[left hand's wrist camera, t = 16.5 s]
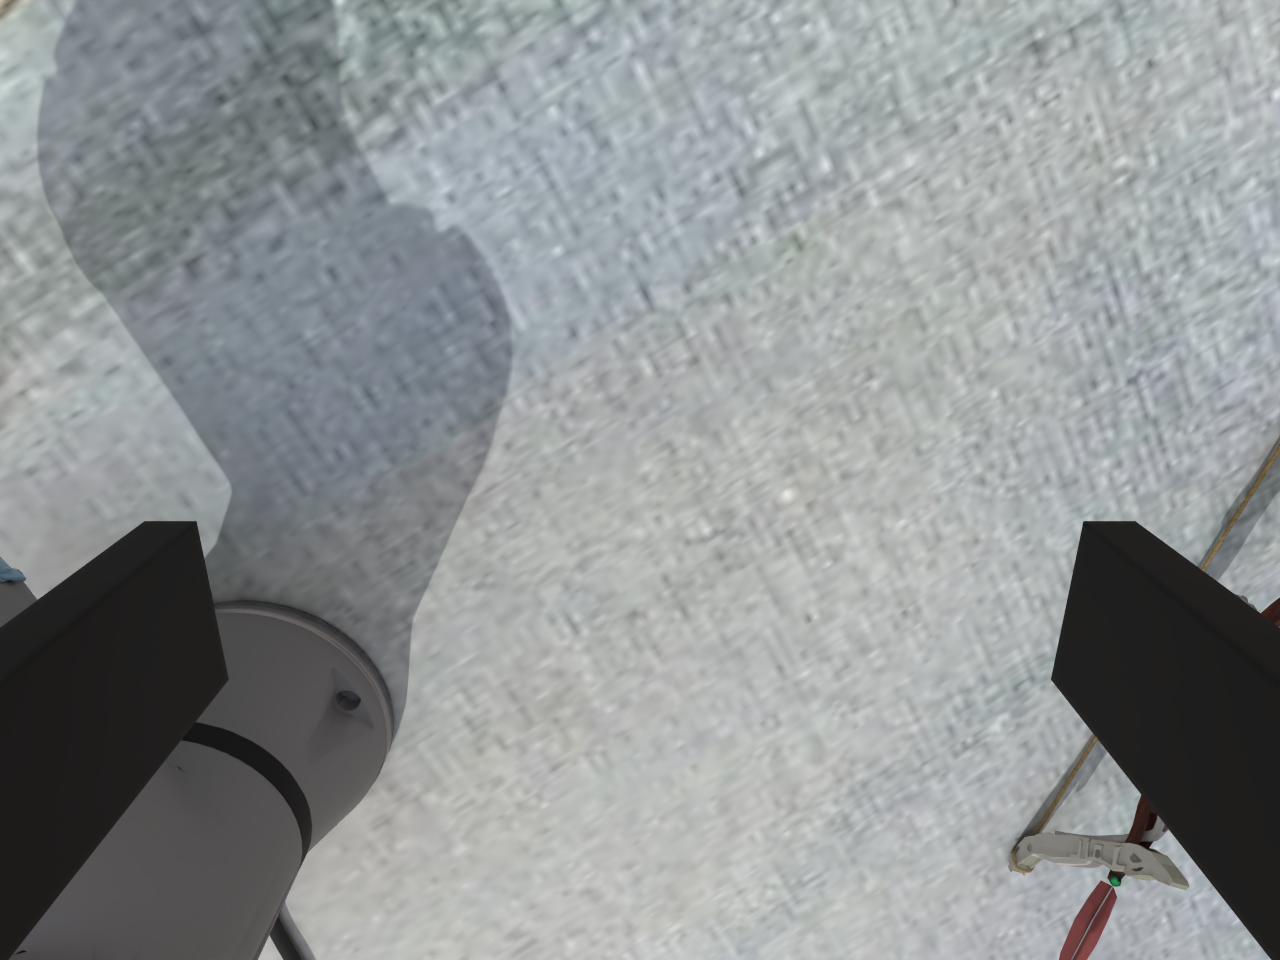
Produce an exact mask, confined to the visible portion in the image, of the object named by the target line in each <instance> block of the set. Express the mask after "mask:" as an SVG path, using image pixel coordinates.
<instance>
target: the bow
mask: <svg viewBox="0 0 1280 960" xmlns="http://www.w3.org/2000/svg"><path fill="white" fill-rule="evenodd" d="M1279 452H1280V444H1279V446H1278V447H1277V449H1276V450H1275V452H1274V454H1273V455H1272V457H1271V458H1270V460H1269V461H1268V463H1267V465H1266V466H1265V468H1264V469H1263V471H1262V473H1261V474H1260V476H1259V477H1258V479H1257V480H1256V482H1255V484H1254V485H1253V487H1252V488H1251V490H1250V492H1249V493H1248V495H1247V496H1246V498H1245V499H1244V501H1243V503H1242V504H1241V506H1240V507H1239V509H1238V511H1237V512H1236V514H1235V515H1234V517H1233V518H1232V520H1231V522H1230V523H1229V525H1228V526H1227V528H1226V530H1225V531H1224V533H1223V534H1222V536H1221V537H1220V539H1219V541H1218V542H1217V544H1216V545H1215V547H1214V549H1213V550H1212V552H1211V553H1210V555H1209V556H1208V558H1207V560H1206V561H1205V563H1204V564H1203V566H1202V568H1201V570H1202V571H1205V569H1206V568H1207V566H1208V564H1209V563H1210V561H1211V560H1212V558H1213V557H1214V555H1215V553H1216V552H1217V550H1218V549H1219V547H1220V546H1221V544H1222V542H1223V541H1224V539H1225V538H1226V536H1227V535H1228V533H1229V531H1230V530H1231V528H1232V527H1233V525H1234V523H1235V522H1236V520H1237V519H1238V517H1239V516H1240V514H1241V512H1242V511H1243V509H1244V508H1245V506H1246V505H1247V503H1248V501H1249V500H1250V498H1251V497H1252V495H1253V493H1254V492H1255V490H1256V489H1257V487H1258V486H1259V484H1260V482H1261V481H1262V479H1263V478H1264V476H1265V475H1266V473H1267V471H1268V470H1269V468H1270V467H1271V465H1272V464H1273V462H1274V460H1275V459H1276V457H1277V456H1278V454H1279ZM1235 595H1236V594H1235ZM1236 596H1238V597H1239V598H1240V599H1242V600H1243V601H1244V602H1246V603H1247V604H1248V605H1250V606H1251V607H1252V608H1254V609H1255V610H1257V609H1256V608H1255V607H1254V605H1252V604H1249V603H1248V599H1247V598H1246V597H1245V596H1243V595H1242V596H1239V595H1236ZM1261 614H1262V615H1263V616H1265V617H1266V618H1267V619H1269V620H1270V621H1271V622H1273V623H1274V624H1276V625H1277V626H1278V627H1280V598H1279V599H1277V600H1276V601H1275V602H1273V603H1272V604H1271V605H1270V606H1269V607H1267V608H1266V609H1265V610H1264V611H1263V612H1262V613H1261ZM1097 740H1098V739H1097V737H1096V736H1095V737H1094V739H1093V740H1092V742H1091V743H1090V745H1089V747H1088V748H1087V750H1086V751H1085V753H1084V755H1083V756H1082V758H1081V759H1080V761H1079V762H1078V764H1077V766H1076V767H1075V769H1074V770H1073V772H1072V774H1071V775H1070V777H1069V778H1068V780H1067V781H1066V783H1065V785H1064V786H1063V788H1062V789H1061V791H1060V793H1059V794H1058V796H1057V797H1056V799H1055V800H1054V802H1053V804H1052V805H1051V807H1050V808H1049V810H1048V812H1047V813H1046V815H1045V816H1044V818H1043V819H1042V821H1041V823H1040V824H1039V826H1038V827H1037V829H1036V831H1035V832H1034V834H1033V835H1032V836H1028V837H1024V839H1023V840H1022V841H1021V842H1020V843H1019V844H1018V845H1017V847H1016V849H1015V850H1014V851H1013V853H1012V857H1011V858H1010V860H1009V861H1010V864H1009V866H1008V867H1009V869H1010V871H1011V872H1012V871H1016V872H1020V873H1023V875H1024V876H1025V874H1026V873H1027V872H1028V873H1029V872H1031V871H1032V870H1033V869H1034V867H1035V866H1036V865H1037V864H1038V863H1040V862H1041V861H1043V860H1044V859H1046V860H1048V861H1051V862H1054V863H1057V864H1060V865H1064V866H1074V867H1090V868H1091V867H1099V866H1100V865H1102V864H1104V865H1105V866H1106V867H1108V868H1109V869H1110V872H1109V875H1108V877H1107V878H1108V879H1109V881H1110V883H1111V884H1112V886H1111V885H1109V884H1107V883H1105V882H1103V881H1100V882H1099V884H1098V885H1097V886H1096V888H1095V889H1094V890H1093V892H1092V893H1091V894H1090V896H1089V897H1088V899H1087V900H1086V902H1085V904H1084V905H1083V907H1082V908H1081V910H1080V911H1079V913H1078V915H1077V916H1076V918H1075V920H1074V922H1073V924H1072V927H1071V929H1070V931H1069V934H1068V936H1067V939H1066V941H1065V943H1064V946H1063V948H1062V950H1061V953H1060V958H1059V960H1087V959H1088V957H1089V955H1090V954H1091V952H1092V951H1093V949H1094V948H1095V946H1096V944H1097V942H1098V940H1099V938H1100V936H1101V934H1102V932H1103V929H1104V927H1105V925H1106V923H1107V921H1108V919H1109V916H1110V914H1111V911H1112V909H1113V906H1114V904H1115V901H1116V899H1117V896H1116V893H1115V891H1114V888H1113V887H1114V886H1115V887H1116V886H1120V884H1121V879H1122V878H1123V877H1124V876H1125V875H1127V876H1130V877H1134V878H1138V879H1141V880H1157V881H1160V882H1162V883H1165V884H1167V885H1169V886H1173V887H1176V888H1180V889H1183V890H1186V889H1187V888H1188V887H1189V884H1188V881H1187V880H1186V879H1185V877H1184V876H1183V875H1182V873H1181V872H1180V871H1179V869H1178V868H1177V867H1176V866H1175V865H1174V863H1173V862H1172V861H1171V860H1170V859H1169V857H1168V856H1166V855H1163V854H1162V853H1160V852H1158V851H1157V850H1155V849H1151V848H1149V847H1150V846H1151V844H1152V843H1153V841H1157V840H1158V839H1160V838H1161V837H1162V836H1163V835H1164V834H1165V833H1166V832H1167V831H1168V830H1169V829H1168V828H1167V826H1166V825H1165V824H1164V823H1163V821H1162V820H1161V819H1160V817H1159V816H1158V815H1157V814H1156V812H1155V811H1154V810H1153V809H1152V807H1151V806H1150V805H1149V803H1148V802H1147V801H1146V800H1145V798H1144V797H1143V796H1142V795H1141V798H1140V800H1139V803H1138V806H1137V810H1136V814H1135V818H1134V822H1133V826H1132V828H1131V830H1130V833H1129V834H1125V835H1108V836H1087V835H1078V834H1070V833H1064V832H1059V831H1055V834H1053V833H1040V834H1038V833H1039V831H1040V830H1041V828H1042V826H1043V825H1044V823H1045V822H1046V820H1047V818H1048V817H1049V815H1050V814H1051V812H1052V811H1053V809H1054V807H1055V806H1056V804H1057V803H1058V801H1059V800H1060V798H1061V796H1062V795H1063V793H1064V792H1065V790H1066V789H1067V787H1068V785H1069V784H1070V782H1071V781H1072V779H1073V777H1074V776H1075V774H1076V773H1077V771H1078V770H1079V768H1080V766H1081V765H1082V763H1083V762H1084V760H1085V759H1086V757H1087V755H1088V754H1089V752H1090V751H1091V749H1092V747H1093V746H1094V744H1095V743H1096V741H1097Z"/></svg>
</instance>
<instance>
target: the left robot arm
mask: <svg viewBox="0 0 1280 960" xmlns="http://www.w3.org/2000/svg"><path fill="white" fill-rule="evenodd" d="M25 580H26V578H25V576H24V575H23V573H22V572H20V571H19V570H18V569H14V568H10V567H9V565H8V564H7V563H6V562H5V561H4V560H3V559H2V558H1V557H0V960H258V958H259V956H260V954H261V952H262V949H263V947H264V945H265V943H266V941H267V939H268V936H269V935H270V937H271V939H272V940H273V942H274V944H275V946H276V948H277V949H278V951H279V953H280V954H281V956H282V958H283V959H284V960H301V958H300V956H299V955H298V953H297V951H296V949H295V948H294V946H293V944H292V942H291V941H290V939H289V937H288V936H287V934H286V932H285V930H284V928H283V926H282V924H281V922H280V920H279V918H278V915H279V913H280V910H281V908H282V906H283V904H284V902H285V899H286V897H287V895H288V893H289V891H290V889H291V886H292V884H293V882H294V880H295V878H296V876H297V873H298V871H299V869H300V867H301V865H302V863H303V861H304V859H305V856H306V854H307V853H308V852H309V851H310V850H311V849H312V848H313V847H314V846H315V845H316V844H317V843H318V842H319V841H320V840H321V839H322V838H323V837H324V836H325V835H326V834H327V833H329V832H330V831H331V830H332V829H333V828H334V827H335V826H336V825H337V824H338V823H339V822H340V821H341V820H342V819H343V818H344V817H345V816H346V815H347V814H348V813H349V812H350V811H352V810H353V809H354V808H355V807H356V806H357V805H358V803H359V802H360V801H361V800H362V799H363V798H364V796H365V795H366V794H367V792H368V791H369V789H370V788H371V786H372V785H373V783H374V782H375V780H376V778H377V777H378V775H379V773H380V771H381V768H382V766H383V764H384V761H385V759H386V757H387V754H388V752H389V749H390V745H391V742H392V735H393V712H392V707H391V702H390V698H389V695H388V692H387V689H386V687H385V685H384V683H383V680H382V679H381V677H380V675H379V673H378V672H377V670H376V668H375V667H374V666H373V664H372V663H371V661H370V660H369V659H368V658H367V657H366V655H365V654H364V653H363V652H362V651H361V650H360V649H359V648H358V647H357V646H356V645H355V644H354V643H353V642H352V641H351V640H349V639H348V638H347V637H346V636H345V635H343V634H342V633H341V632H339V631H338V630H336V629H335V628H333V627H332V626H330V625H328V624H327V623H325V622H323V621H321V620H319V619H317V618H315V617H313V616H311V615H309V614H306V613H304V612H301V611H298V610H295V609H292V608H289V607H285V606H281V605H276V604H271V603H264V602H255V601H237V602H226V603H219V604H213V599H212V595H211V590H210V585H209V580H208V575H207V570H206V565H205V561H204V556H203V551H202V546H201V541H200V536H199V531H198V527H197V522H196V521H144V522H143V523H142V524H140V525H139V526H138V527H136V528H135V529H134V530H132V531H131V532H129V533H128V534H127V535H125V536H124V537H123V538H121V539H120V540H119V541H117V542H116V543H115V544H113V545H112V546H110V547H109V548H108V549H106V550H105V551H104V552H102V553H101V554H100V555H98V556H97V557H95V558H94V559H93V560H91V561H90V562H89V563H87V564H86V565H85V566H83V567H82V568H81V569H79V570H78V571H76V572H75V573H74V574H72V575H71V576H70V577H68V578H67V579H66V580H64V581H63V582H62V583H60V584H59V585H57V586H56V587H55V588H53V589H52V590H51V591H49V592H48V593H47V594H45V595H44V596H42V597H41V598H40V599H38V600H37V599H36V597H35V596H34V595H33V594H32V592H31V591H30V590H29V588H28V587H27V586H26V585H25V583H24V582H23V581H25ZM1051 680H1052V681H1053V683H1054V684H1055V685H1056V686H1057V688H1058V689H1059V690H1060V692H1061V693H1062V694H1063V695H1064V697H1065V698H1066V699H1067V700H1068V702H1069V703H1070V704H1071V706H1072V707H1073V708H1074V709H1075V711H1076V712H1077V713H1078V714H1079V716H1080V717H1081V718H1082V720H1083V721H1084V722H1085V723H1086V725H1087V726H1088V727H1089V728H1090V730H1091V731H1092V732H1093V734H1094V735H1095V736H1096V737H1097V739H1098V740H1099V741H1100V742H1101V744H1102V745H1103V746H1104V748H1105V749H1106V750H1107V751H1108V753H1109V754H1110V755H1111V756H1112V758H1113V759H1114V760H1115V762H1116V763H1117V764H1118V765H1119V767H1120V768H1121V769H1122V770H1123V772H1124V773H1125V774H1126V775H1127V777H1128V778H1129V779H1130V781H1131V782H1132V783H1133V784H1134V786H1135V787H1136V788H1137V789H1138V791H1139V792H1140V793H1141V795H1142V796H1143V797H1144V798H1145V800H1146V801H1147V802H1148V803H1149V805H1150V806H1151V807H1152V809H1153V810H1154V811H1155V812H1156V814H1157V815H1158V816H1159V817H1160V819H1161V820H1162V821H1163V823H1164V824H1165V825H1166V826H1167V828H1168V829H1169V830H1170V831H1171V833H1172V834H1173V835H1174V837H1175V838H1176V839H1177V840H1178V842H1179V843H1180V844H1181V845H1182V847H1183V848H1184V849H1185V851H1186V852H1187V853H1188V854H1189V856H1190V857H1191V858H1192V859H1193V861H1194V862H1195V863H1196V864H1197V866H1198V867H1199V868H1200V870H1201V871H1202V872H1203V873H1204V875H1205V876H1206V877H1207V878H1208V880H1209V881H1210V882H1211V884H1212V885H1213V886H1214V887H1215V889H1216V890H1217V891H1218V892H1219V894H1220V895H1221V896H1222V898H1223V899H1224V900H1225V901H1226V903H1227V904H1228V905H1229V906H1230V908H1231V909H1232V910H1233V912H1234V913H1235V914H1236V915H1237V917H1238V918H1239V919H1240V920H1241V922H1242V923H1243V924H1244V926H1245V927H1246V928H1247V929H1248V931H1249V932H1250V933H1251V934H1252V936H1253V937H1254V938H1255V940H1256V941H1257V942H1258V943H1259V945H1260V946H1261V947H1262V948H1263V950H1264V951H1265V952H1266V954H1267V955H1268V956H1269V957H1270V959H1271V960H1280V627H1278V626H1277V625H1276V624H1274V623H1273V622H1271V621H1270V620H1269V619H1267V618H1266V617H1265V616H1263V615H1262V614H1261V613H1259V612H1258V611H1257V610H1255V609H1254V608H1252V607H1251V606H1250V605H1248V604H1247V603H1246V602H1244V601H1243V600H1242V599H1240V598H1239V597H1238V596H1236V595H1235V594H1233V593H1232V592H1231V591H1229V590H1228V589H1227V588H1225V587H1224V586H1223V585H1221V584H1220V583H1218V582H1217V581H1216V580H1214V579H1213V578H1212V577H1210V576H1209V575H1208V574H1206V573H1205V572H1204V571H1202V570H1201V569H1199V568H1198V567H1197V566H1195V565H1194V564H1193V563H1191V562H1190V561H1189V560H1187V559H1186V558H1185V557H1183V556H1182V555H1180V554H1179V553H1178V552H1176V551H1175V550H1174V549H1172V548H1171V547H1170V546H1168V545H1167V544H1165V543H1164V542H1163V541H1161V540H1160V539H1159V538H1157V537H1156V536H1155V535H1153V534H1152V533H1151V532H1149V531H1148V530H1146V529H1145V528H1144V527H1142V526H1141V525H1140V524H1138V523H1137V522H1136V521H1084V522H1083V527H1082V531H1081V536H1080V541H1079V546H1078V551H1077V556H1076V561H1075V565H1074V570H1073V575H1072V580H1071V585H1070V590H1069V595H1068V599H1067V604H1066V609H1065V614H1064V619H1063V624H1062V629H1061V633H1060V638H1059V643H1058V648H1057V653H1056V658H1055V663H1054V668H1053V672H1052V677H1051Z"/></svg>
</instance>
